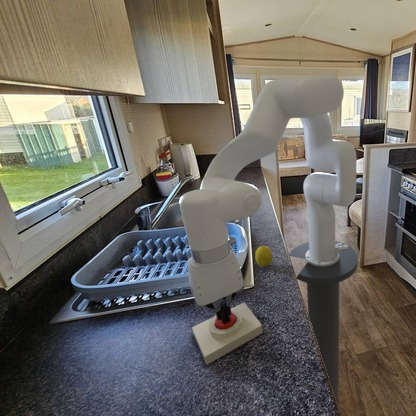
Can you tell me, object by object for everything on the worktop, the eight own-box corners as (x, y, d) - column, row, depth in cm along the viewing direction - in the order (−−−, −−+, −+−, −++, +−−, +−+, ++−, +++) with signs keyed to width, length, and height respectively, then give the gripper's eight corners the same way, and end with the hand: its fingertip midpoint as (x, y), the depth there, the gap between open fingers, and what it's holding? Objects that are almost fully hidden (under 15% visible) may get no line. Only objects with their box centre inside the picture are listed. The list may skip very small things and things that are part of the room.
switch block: (245, 309, 69) (243, 297, 68) (262, 332, 62) (261, 319, 61) (193, 335, 62) (190, 322, 60) (206, 365, 55) (203, 351, 53)
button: (232, 315, 64) (231, 308, 63) (239, 326, 61) (238, 319, 60) (214, 324, 61) (212, 317, 61) (220, 336, 58) (219, 329, 57)
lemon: (268, 273, 84) (265, 251, 81) (253, 269, 86) (250, 248, 83) (276, 263, 89) (274, 243, 86) (262, 261, 91) (260, 240, 88)
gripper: (238, 232, 60) (248, 296, 67) (166, 254, 52) (185, 325, 59) (252, 244, 55) (261, 313, 62) (174, 271, 46) (194, 347, 53)
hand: (224, 319), depth 60 cm, fingers closed
